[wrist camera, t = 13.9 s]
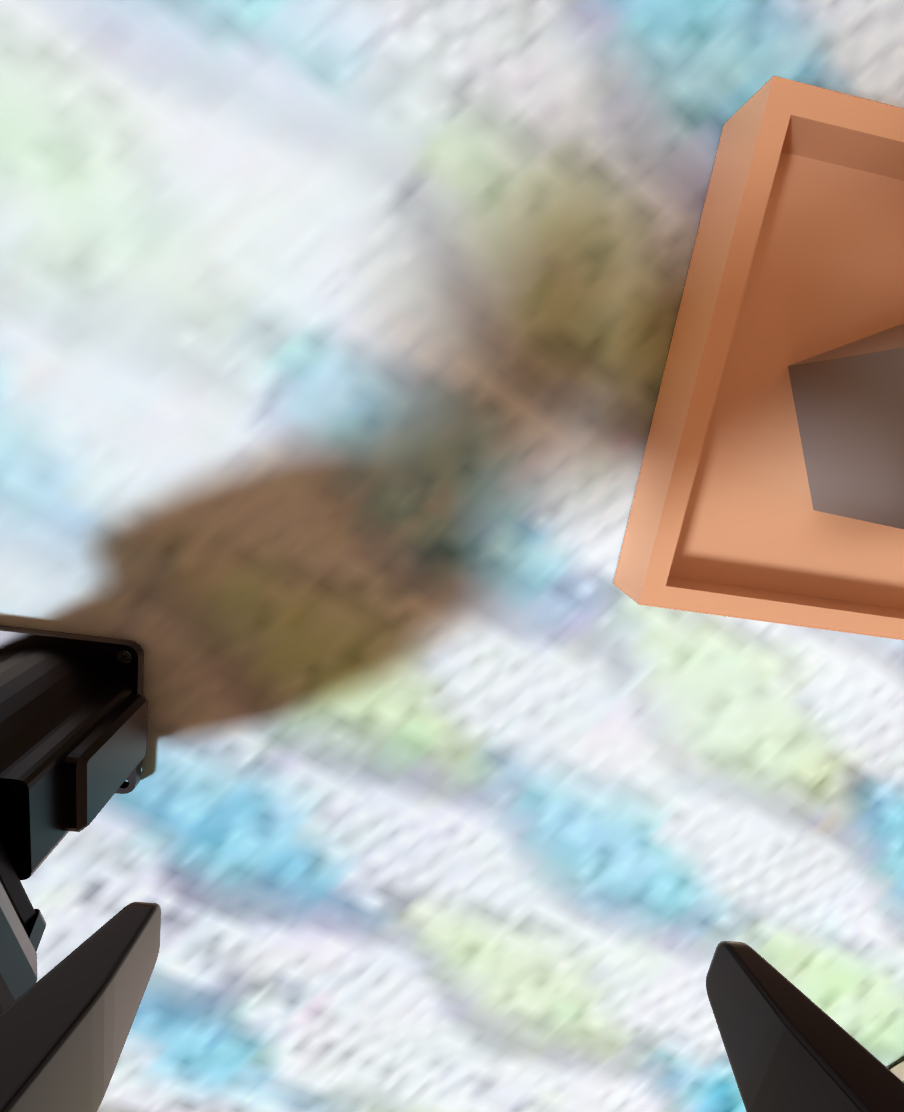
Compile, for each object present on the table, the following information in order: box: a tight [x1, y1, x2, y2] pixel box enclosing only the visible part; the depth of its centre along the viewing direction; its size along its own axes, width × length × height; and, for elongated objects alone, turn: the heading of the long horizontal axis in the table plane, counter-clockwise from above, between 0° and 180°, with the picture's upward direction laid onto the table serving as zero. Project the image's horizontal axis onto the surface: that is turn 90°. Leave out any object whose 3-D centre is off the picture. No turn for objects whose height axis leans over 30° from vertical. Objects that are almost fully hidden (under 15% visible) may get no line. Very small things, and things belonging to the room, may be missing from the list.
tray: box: [613, 76, 904, 640], centre depth 19 cm, size 16×16×2 cm
